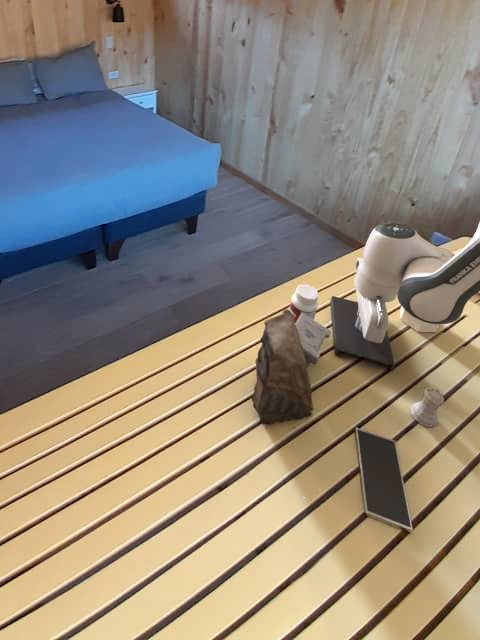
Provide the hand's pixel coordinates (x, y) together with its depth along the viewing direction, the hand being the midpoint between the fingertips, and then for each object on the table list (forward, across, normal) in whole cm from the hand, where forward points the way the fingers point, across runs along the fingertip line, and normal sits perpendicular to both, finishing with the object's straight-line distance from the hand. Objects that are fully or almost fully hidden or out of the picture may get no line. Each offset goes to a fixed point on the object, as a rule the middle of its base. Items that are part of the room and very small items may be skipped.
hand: (361, 324), depth 101 cm
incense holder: (+4, -14, +14) cm, 20 cm away
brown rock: (+4, -26, +18) cm, 32 cm away
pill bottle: (+4, -2, +14) cm, 15 cm away
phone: (+3, -34, 0) cm, 34 cm away
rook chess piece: (+4, -18, -10) cm, 21 cm away
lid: (+3, 0, 0) cm, 3 cm away
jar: (+4, +10, -15) cm, 18 cm away
